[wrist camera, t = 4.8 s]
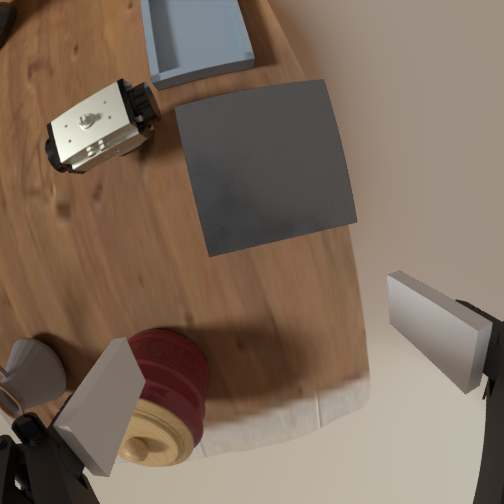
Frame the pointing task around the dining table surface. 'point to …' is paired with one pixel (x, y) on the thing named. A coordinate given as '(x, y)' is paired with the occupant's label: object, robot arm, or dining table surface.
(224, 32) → the tray
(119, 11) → the dining table surface
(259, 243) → the box
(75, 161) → the pneumatic valve
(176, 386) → the canister
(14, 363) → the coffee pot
